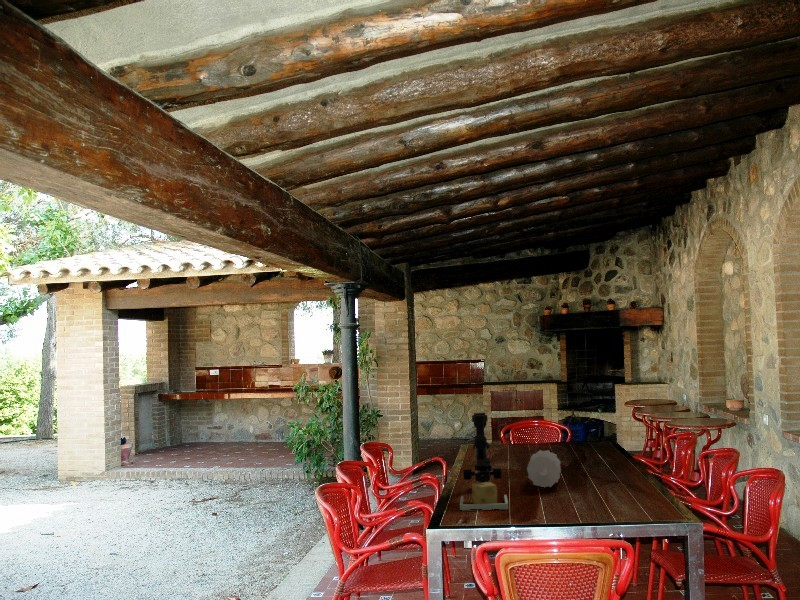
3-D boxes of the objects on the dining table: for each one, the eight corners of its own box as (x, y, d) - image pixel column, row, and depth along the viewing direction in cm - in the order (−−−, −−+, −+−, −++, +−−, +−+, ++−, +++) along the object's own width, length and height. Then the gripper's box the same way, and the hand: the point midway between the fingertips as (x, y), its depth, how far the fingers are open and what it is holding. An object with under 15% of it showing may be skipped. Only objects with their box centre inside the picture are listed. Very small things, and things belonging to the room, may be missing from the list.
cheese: (476, 508, 332) (475, 486, 333) (472, 503, 343) (470, 482, 344) (498, 506, 333) (496, 485, 334) (493, 501, 344) (491, 481, 345)
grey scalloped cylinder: (554, 487, 387) (553, 495, 363) (523, 473, 392) (521, 480, 368) (566, 456, 387) (566, 462, 363) (536, 443, 392) (534, 448, 368)
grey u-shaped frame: (461, 501, 348) (460, 496, 349) (506, 499, 346) (506, 494, 346) (460, 510, 329) (459, 505, 330) (508, 509, 327) (508, 503, 327)
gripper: (462, 452, 352) (462, 479, 340) (499, 451, 350) (501, 478, 338) (463, 466, 359) (464, 492, 347) (500, 464, 357) (502, 491, 345)
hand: (483, 488), depth 344 cm, fingers closed
